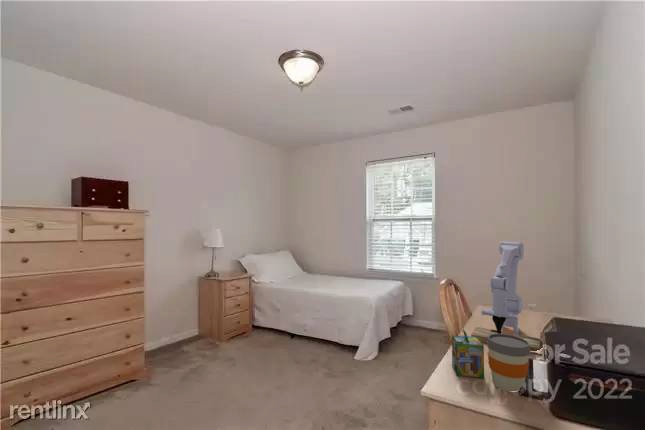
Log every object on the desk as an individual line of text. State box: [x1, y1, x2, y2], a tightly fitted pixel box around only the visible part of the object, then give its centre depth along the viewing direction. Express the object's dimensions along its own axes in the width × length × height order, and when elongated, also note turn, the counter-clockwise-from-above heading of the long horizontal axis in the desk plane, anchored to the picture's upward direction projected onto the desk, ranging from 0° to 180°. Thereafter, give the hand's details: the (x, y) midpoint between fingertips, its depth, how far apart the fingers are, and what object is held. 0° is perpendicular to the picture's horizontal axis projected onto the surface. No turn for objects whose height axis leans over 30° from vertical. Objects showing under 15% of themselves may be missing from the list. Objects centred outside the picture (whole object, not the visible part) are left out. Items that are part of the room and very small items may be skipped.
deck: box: [470, 326, 544, 351], centre depth 143 cm, size 13×27×6 cm, turn 54°
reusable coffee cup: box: [486, 334, 531, 392], centre depth 106 cm, size 13×13×15 cm
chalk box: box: [451, 328, 485, 379], centre depth 116 cm, size 9×9×15 cm
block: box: [502, 326, 514, 336], centre depth 143 cm, size 4×4×4 cm
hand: (499, 333), depth 145 cm, fingers closed
